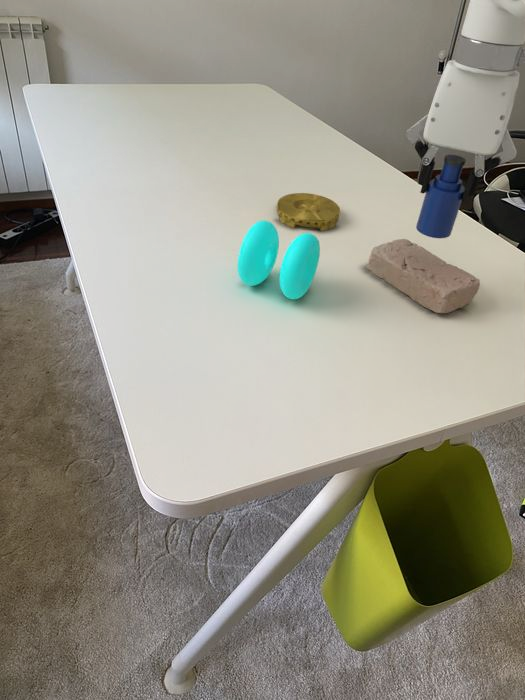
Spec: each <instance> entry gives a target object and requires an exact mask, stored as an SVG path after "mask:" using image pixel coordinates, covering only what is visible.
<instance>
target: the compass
mask: <svg viewBox="0 0 525 700" xmlns="http://www.w3.org/2000/svg"><path fill="white" fill-rule="evenodd" d="M276 213H277V215H278V216H279V221H280V222H281V223H282V224H283V225H285V226H287V227H289V228H295V227H296V226H300V227H304V228H305V227H306V228H317V229H319V230H320V232H322V231H327V230H331V229H332V228H334V227H335V226H336V222H338V221H339V217H340V213H341V208H340V206H339V204H338V203H336V202H335V201H334V200H332V199H330V198H329V197H326V196H323V195H319V194H316V193H308V192H295V193H288V194H285V195H283V196H281V197H279V199H278V200H277V203H276Z"/></svg>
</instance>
